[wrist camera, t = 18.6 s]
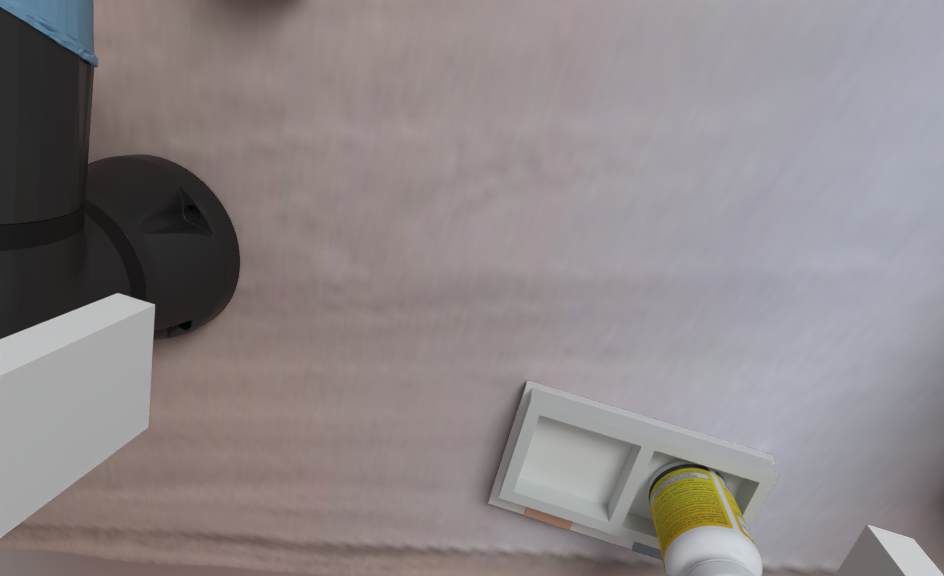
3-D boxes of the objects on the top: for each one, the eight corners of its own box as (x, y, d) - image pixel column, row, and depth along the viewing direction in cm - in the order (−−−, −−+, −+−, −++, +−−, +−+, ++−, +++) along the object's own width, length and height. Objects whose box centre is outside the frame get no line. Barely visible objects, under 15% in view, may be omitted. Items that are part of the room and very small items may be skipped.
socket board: (489, 495, 48) (485, 519, 45) (526, 380, 44) (524, 398, 41) (711, 567, 47) (721, 596, 44) (770, 454, 43) (785, 478, 40)
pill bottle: (632, 499, 45) (653, 615, 34) (672, 443, 43) (708, 548, 32) (700, 533, 45) (741, 659, 34) (743, 478, 43) (801, 595, 32)
